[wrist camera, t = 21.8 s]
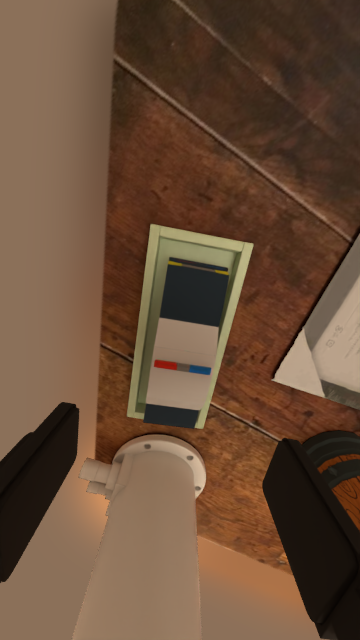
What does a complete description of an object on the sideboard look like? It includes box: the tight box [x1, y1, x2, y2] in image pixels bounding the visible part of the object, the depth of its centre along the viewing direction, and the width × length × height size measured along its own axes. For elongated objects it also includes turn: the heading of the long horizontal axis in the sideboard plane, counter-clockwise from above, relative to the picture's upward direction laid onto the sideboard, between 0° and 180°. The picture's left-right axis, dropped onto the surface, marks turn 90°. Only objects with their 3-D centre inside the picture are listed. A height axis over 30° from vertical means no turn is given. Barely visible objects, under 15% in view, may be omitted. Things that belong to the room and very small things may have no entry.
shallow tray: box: [127, 224, 253, 429], centre depth 19 cm, size 9×20×2 cm, turn 170°
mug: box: [302, 430, 360, 531], centre depth 20 cm, size 13×10×12 cm
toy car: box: [143, 257, 229, 429], centre depth 17 cm, size 5×16×5 cm, turn 170°
